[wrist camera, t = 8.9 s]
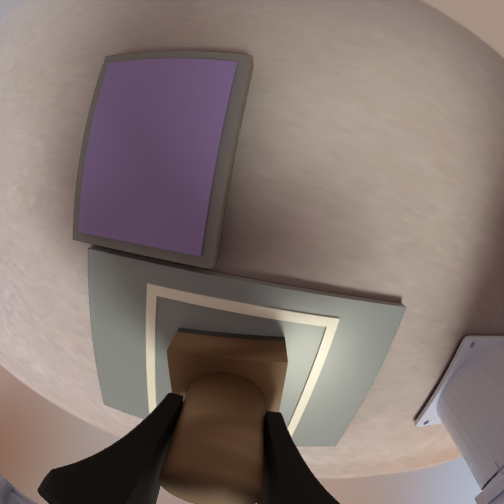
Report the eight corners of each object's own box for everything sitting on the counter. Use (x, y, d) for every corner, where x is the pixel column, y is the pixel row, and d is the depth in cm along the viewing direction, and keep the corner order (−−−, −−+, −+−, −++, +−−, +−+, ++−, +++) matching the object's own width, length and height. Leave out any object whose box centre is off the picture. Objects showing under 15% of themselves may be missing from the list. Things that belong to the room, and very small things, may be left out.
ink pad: (253, 66, 10) (252, 53, 9) (216, 261, 12) (211, 270, 11) (116, 64, 10) (103, 54, 9) (86, 235, 12) (70, 240, 11)
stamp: (284, 337, 12) (300, 464, 6) (273, 408, 14) (275, 516, 7) (179, 327, 12) (120, 440, 6) (185, 399, 14) (152, 500, 7)
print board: (401, 303, 12) (407, 307, 12) (334, 441, 15) (335, 447, 14) (93, 246, 12) (87, 248, 12) (106, 400, 15) (103, 405, 14)
